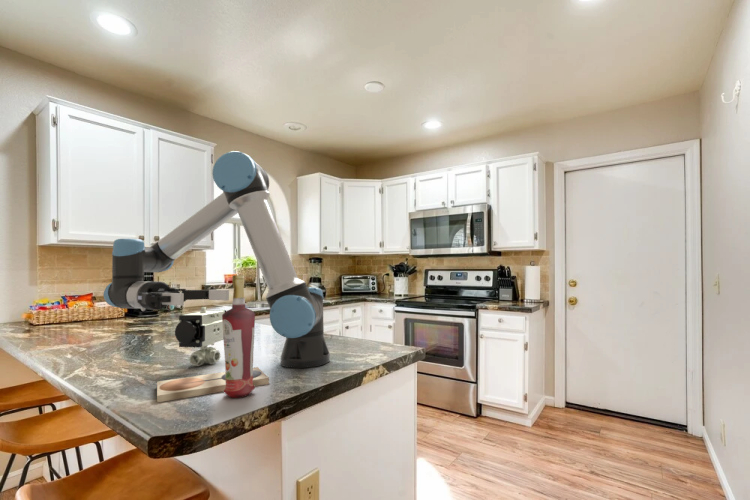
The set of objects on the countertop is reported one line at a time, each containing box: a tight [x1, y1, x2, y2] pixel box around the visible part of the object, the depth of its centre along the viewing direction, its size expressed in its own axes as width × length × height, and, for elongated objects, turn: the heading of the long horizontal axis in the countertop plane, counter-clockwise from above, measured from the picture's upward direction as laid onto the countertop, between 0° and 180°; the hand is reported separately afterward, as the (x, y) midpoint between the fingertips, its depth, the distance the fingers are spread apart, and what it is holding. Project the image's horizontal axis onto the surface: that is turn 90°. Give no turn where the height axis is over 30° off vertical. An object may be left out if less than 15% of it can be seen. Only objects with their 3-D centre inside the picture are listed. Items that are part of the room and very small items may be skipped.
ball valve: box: [174, 306, 227, 367], centre depth 123 cm, size 18×8×18 cm, turn 168°
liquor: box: [222, 274, 256, 399], centre depth 91 cm, size 7×7×28 cm
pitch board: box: [156, 366, 270, 403], centre depth 99 cm, size 25×13×4 cm, turn 119°
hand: (206, 297), depth 95 cm, fingers open, 13 cm apart
